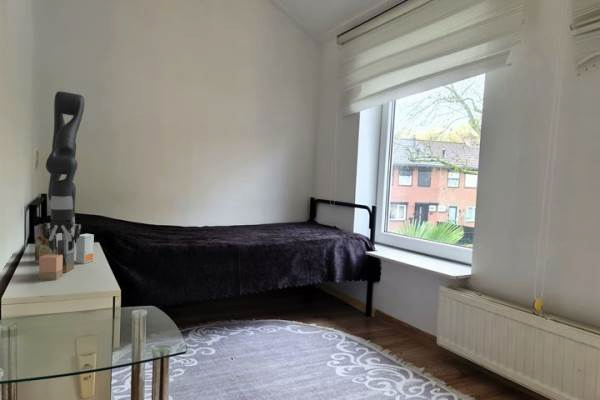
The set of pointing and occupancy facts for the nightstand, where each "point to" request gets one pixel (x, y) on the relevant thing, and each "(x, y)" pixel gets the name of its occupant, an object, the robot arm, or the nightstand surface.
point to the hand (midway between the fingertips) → (61, 249)
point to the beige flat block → (62, 249)
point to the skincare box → (84, 248)
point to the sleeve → (68, 263)
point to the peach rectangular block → (50, 267)
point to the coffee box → (44, 243)
